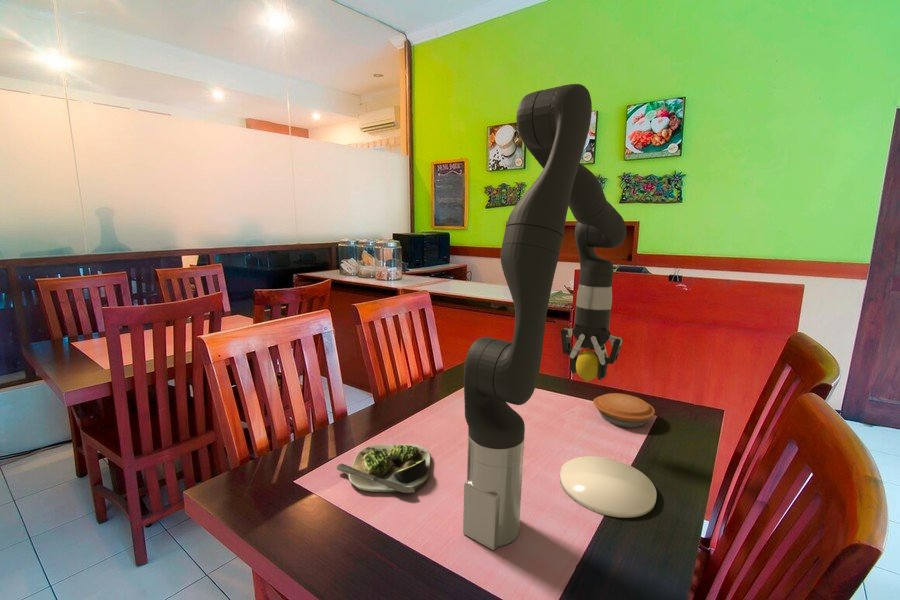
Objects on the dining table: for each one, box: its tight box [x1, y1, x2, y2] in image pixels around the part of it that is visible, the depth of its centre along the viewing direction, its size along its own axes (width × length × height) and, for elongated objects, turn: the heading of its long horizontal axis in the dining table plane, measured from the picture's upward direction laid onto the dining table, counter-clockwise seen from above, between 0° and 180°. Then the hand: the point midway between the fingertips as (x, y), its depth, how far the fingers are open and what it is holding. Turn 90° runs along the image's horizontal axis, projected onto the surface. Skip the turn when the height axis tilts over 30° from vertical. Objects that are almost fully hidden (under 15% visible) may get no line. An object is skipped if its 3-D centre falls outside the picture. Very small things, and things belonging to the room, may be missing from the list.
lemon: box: [576, 348, 600, 383], centre depth 97 cm, size 6×6×8 cm
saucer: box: [559, 455, 657, 519], centre depth 83 cm, size 18×18×1 cm
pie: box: [592, 392, 656, 428], centre depth 113 cm, size 16×16×5 cm
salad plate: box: [336, 443, 432, 494], centre depth 87 cm, size 19×18×5 cm
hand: (587, 375), depth 97 cm, fingers closed on lemon, 5 cm apart
